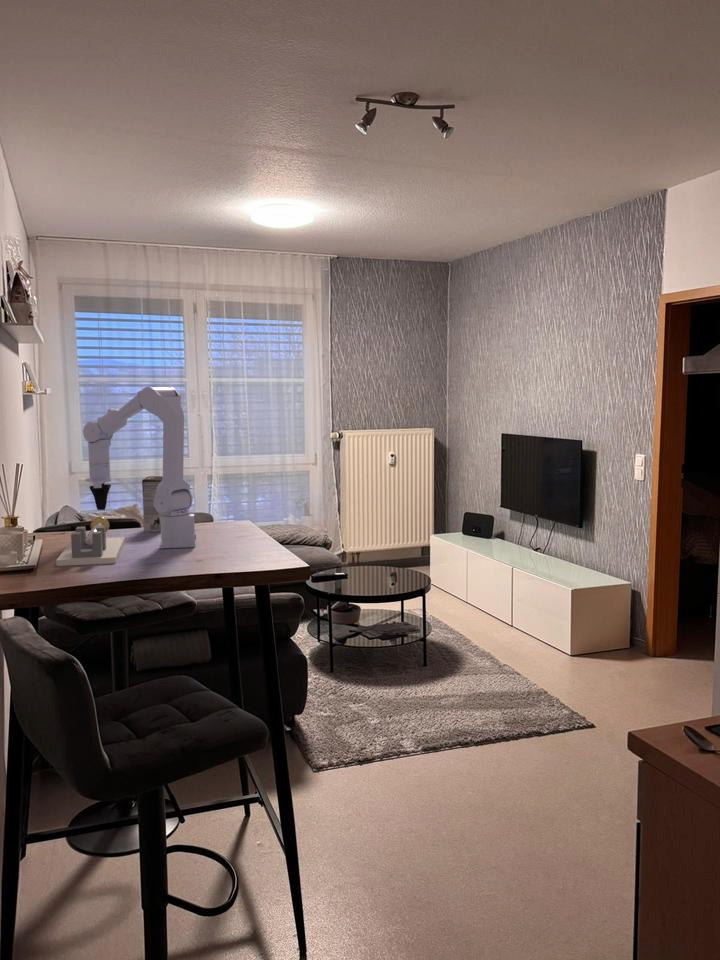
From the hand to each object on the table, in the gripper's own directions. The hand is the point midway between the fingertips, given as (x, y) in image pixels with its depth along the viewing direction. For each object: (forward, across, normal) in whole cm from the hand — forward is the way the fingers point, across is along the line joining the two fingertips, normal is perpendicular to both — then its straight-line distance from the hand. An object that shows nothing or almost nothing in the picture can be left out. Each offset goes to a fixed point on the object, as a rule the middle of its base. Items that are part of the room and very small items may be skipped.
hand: (101, 509), depth 226 cm
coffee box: (+8, -11, +15) cm, 21 cm away
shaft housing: (+8, +22, 0) cm, 24 cm away
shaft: (+6, +16, 0) cm, 18 cm away
